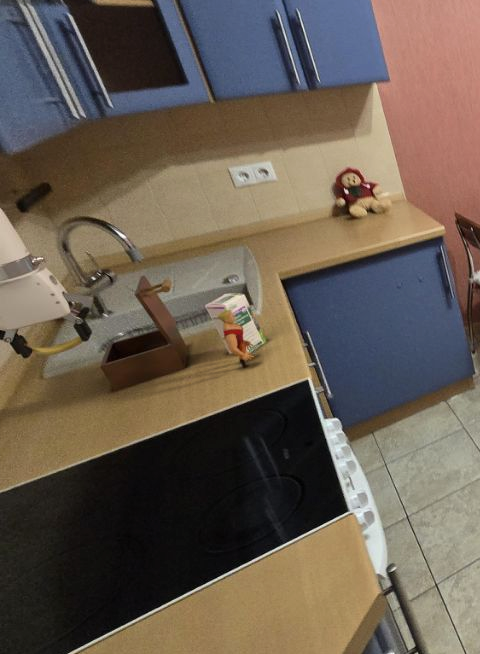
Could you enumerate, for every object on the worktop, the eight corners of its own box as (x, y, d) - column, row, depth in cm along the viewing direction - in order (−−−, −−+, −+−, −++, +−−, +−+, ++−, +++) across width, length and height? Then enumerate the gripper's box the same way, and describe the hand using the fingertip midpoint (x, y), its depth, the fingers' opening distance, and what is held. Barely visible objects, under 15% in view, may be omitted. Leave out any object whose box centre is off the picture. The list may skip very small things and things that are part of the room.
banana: (33, 362, 106) (22, 345, 104) (34, 359, 107) (23, 342, 105) (88, 345, 111) (78, 329, 109) (89, 342, 112) (79, 326, 110)
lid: (134, 294, 116) (163, 285, 119) (140, 276, 125) (167, 268, 128) (168, 343, 122) (195, 334, 125) (172, 323, 132) (197, 314, 134)
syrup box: (249, 356, 130) (225, 304, 123) (229, 355, 131) (203, 304, 124) (267, 343, 135) (245, 292, 128) (247, 343, 136) (224, 292, 129)
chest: (116, 393, 119) (99, 366, 116) (123, 368, 129) (108, 343, 126) (185, 370, 126) (171, 344, 123) (187, 348, 135) (175, 324, 132)
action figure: (259, 371, 123) (233, 315, 117) (241, 377, 121) (213, 321, 115) (258, 353, 130) (234, 300, 124) (241, 359, 129) (215, 305, 122)
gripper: (73, 250, 108) (117, 324, 115) (-51, 277, 99) (4, 355, 107) (64, 261, 102) (111, 338, 110) (-69, 291, 93) (-9, 372, 101)
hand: (58, 346), depth 108 cm, fingers closed on banana, 8 cm apart
